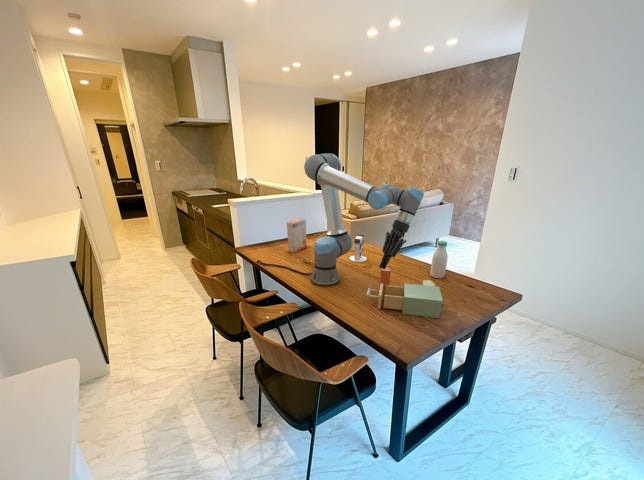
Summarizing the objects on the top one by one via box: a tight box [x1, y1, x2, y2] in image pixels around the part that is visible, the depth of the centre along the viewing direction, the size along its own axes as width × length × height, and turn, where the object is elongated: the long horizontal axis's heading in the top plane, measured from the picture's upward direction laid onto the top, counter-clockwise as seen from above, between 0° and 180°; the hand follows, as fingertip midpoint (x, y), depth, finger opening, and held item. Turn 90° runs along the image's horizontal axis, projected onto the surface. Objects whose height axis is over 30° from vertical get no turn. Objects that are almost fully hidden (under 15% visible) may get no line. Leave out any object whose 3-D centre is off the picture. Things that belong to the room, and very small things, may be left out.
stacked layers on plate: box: [422, 279, 436, 286], centre depth 147 cm, size 10×9×6 cm
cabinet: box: [401, 282, 444, 319], centre depth 134 cm, size 16×14×9 cm
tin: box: [378, 266, 392, 294], centre depth 149 cm, size 5×5×12 cm
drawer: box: [365, 283, 404, 311], centre depth 137 cm, size 20×12×7 cm, turn 76°
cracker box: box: [286, 217, 308, 254], centre depth 205 cm, size 14×6×21 cm, turn 144°
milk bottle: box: [429, 240, 449, 279], centre depth 163 cm, size 8×8×20 cm
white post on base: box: [348, 233, 368, 263], centre depth 189 cm, size 12×11×15 cm
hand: (381, 268), depth 143 cm, fingers closed
